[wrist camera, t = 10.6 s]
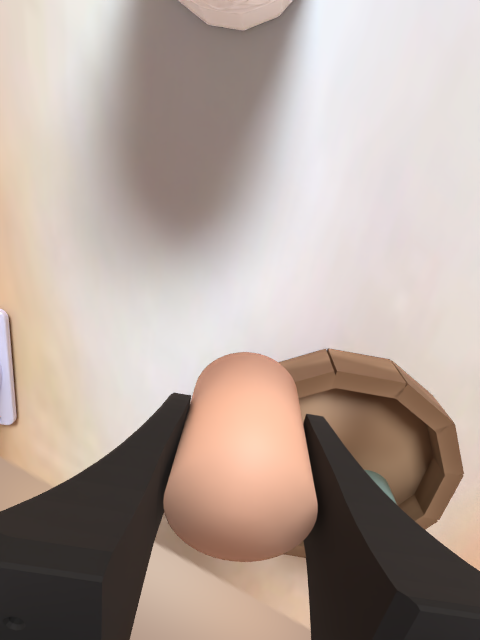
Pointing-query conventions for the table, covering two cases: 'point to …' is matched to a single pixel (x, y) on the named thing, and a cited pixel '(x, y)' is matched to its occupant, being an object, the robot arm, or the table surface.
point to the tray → (383, 427)
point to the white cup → (236, 11)
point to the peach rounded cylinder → (242, 463)
